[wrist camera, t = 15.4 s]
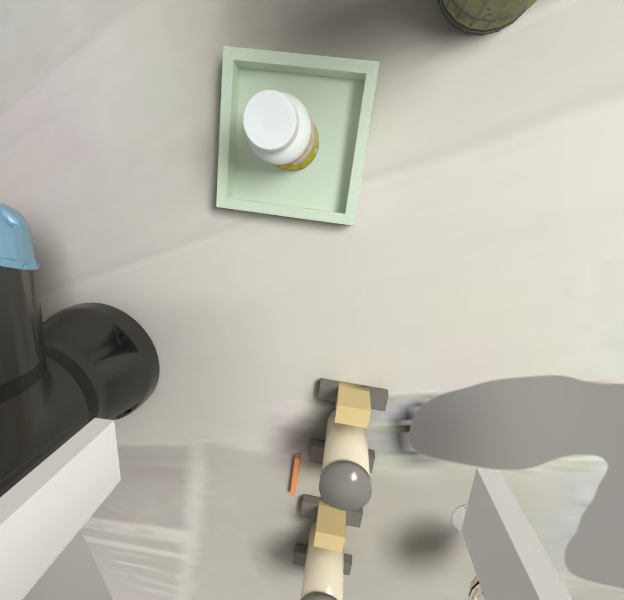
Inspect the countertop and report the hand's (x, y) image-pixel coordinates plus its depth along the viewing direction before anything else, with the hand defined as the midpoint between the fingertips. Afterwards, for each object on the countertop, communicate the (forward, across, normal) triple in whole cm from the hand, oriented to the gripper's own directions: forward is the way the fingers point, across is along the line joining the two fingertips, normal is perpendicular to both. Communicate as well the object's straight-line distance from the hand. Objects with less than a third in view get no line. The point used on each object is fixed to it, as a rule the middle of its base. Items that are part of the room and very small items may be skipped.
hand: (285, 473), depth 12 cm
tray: (+27, -5, +15) cm, 31 cm away
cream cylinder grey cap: (+27, +4, -17) cm, 32 cm away
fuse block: (+27, +3, -26) cm, 37 cm away
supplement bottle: (+26, -5, +15) cm, 31 cm away
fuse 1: (+27, +3, -35) cm, 44 cm away
